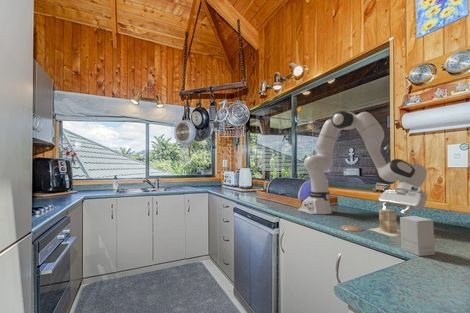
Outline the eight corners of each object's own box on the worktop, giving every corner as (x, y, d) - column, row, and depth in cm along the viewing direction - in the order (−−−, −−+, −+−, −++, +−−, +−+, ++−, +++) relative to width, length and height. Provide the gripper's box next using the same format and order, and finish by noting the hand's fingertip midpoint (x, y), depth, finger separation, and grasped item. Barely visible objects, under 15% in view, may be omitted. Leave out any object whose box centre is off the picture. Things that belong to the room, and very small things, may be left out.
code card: (368, 229, 115) (368, 229, 115) (385, 226, 119) (385, 226, 119) (391, 236, 104) (391, 236, 104) (409, 233, 108) (409, 233, 108)
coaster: (337, 228, 118) (337, 227, 118) (347, 225, 124) (347, 224, 124) (357, 233, 110) (357, 232, 110) (367, 229, 116) (367, 228, 116)
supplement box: (436, 254, 84) (434, 219, 84) (418, 256, 82) (417, 221, 83) (416, 247, 91) (415, 215, 91) (400, 249, 90) (399, 216, 90)
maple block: (379, 230, 113) (378, 209, 113) (387, 229, 115) (386, 209, 115) (389, 233, 108) (388, 211, 109) (397, 231, 110) (396, 210, 110)
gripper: (383, 185, 126) (370, 204, 122) (424, 189, 106) (411, 212, 103) (389, 193, 127) (377, 212, 123) (431, 197, 108) (418, 221, 104)
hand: (393, 212), depth 113 cm, fingers open, 8 cm apart
